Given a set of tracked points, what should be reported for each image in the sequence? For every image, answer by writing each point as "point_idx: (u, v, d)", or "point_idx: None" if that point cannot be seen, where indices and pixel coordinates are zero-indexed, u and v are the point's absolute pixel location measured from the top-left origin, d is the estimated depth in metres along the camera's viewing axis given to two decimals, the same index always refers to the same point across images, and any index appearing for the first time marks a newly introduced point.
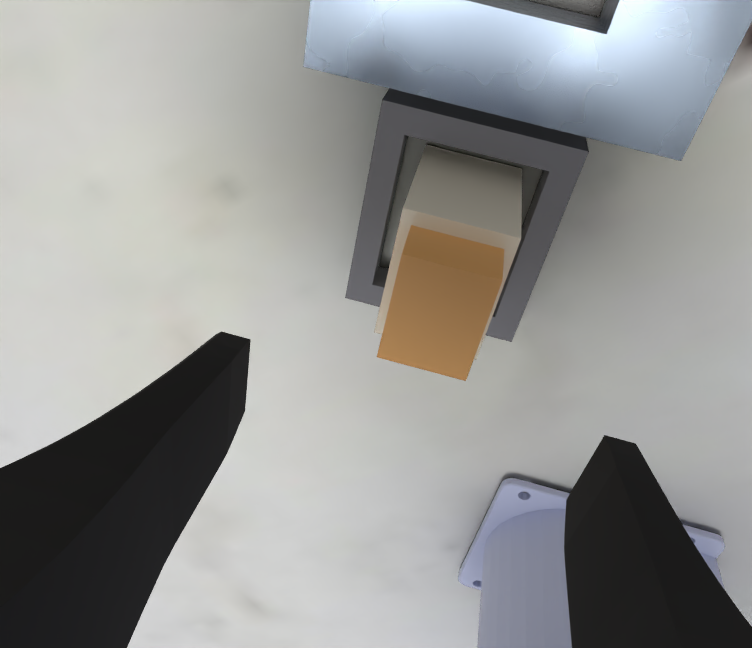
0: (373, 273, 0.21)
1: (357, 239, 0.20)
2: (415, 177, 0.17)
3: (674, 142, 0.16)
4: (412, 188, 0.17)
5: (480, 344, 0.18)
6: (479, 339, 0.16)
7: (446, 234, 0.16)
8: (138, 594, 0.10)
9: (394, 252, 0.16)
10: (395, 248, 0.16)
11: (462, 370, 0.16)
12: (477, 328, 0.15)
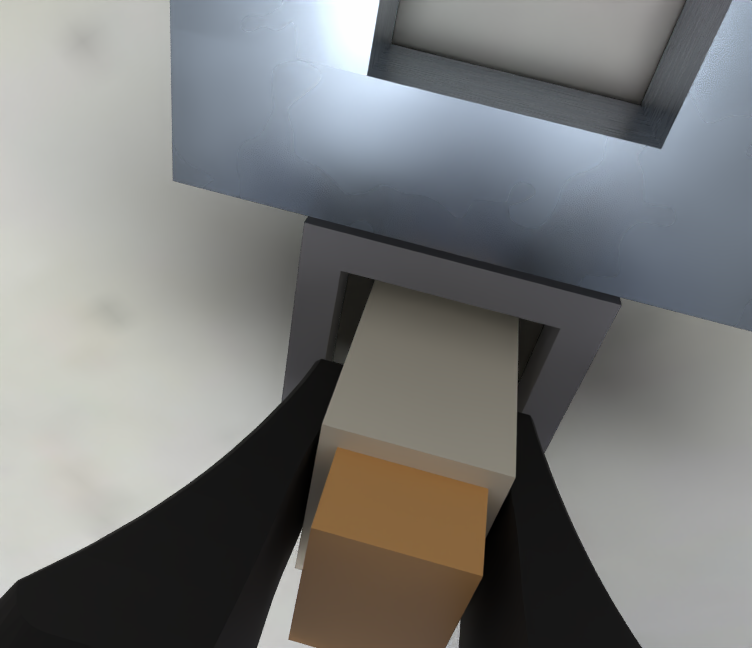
0: None
1: (283, 398, 0.14)
2: (352, 346, 0.11)
3: None
4: (344, 373, 0.11)
5: None
6: (447, 638, 0.10)
7: (393, 463, 0.10)
8: (258, 629, 0.10)
9: (314, 479, 0.10)
10: (315, 473, 0.10)
11: None
12: (443, 626, 0.09)
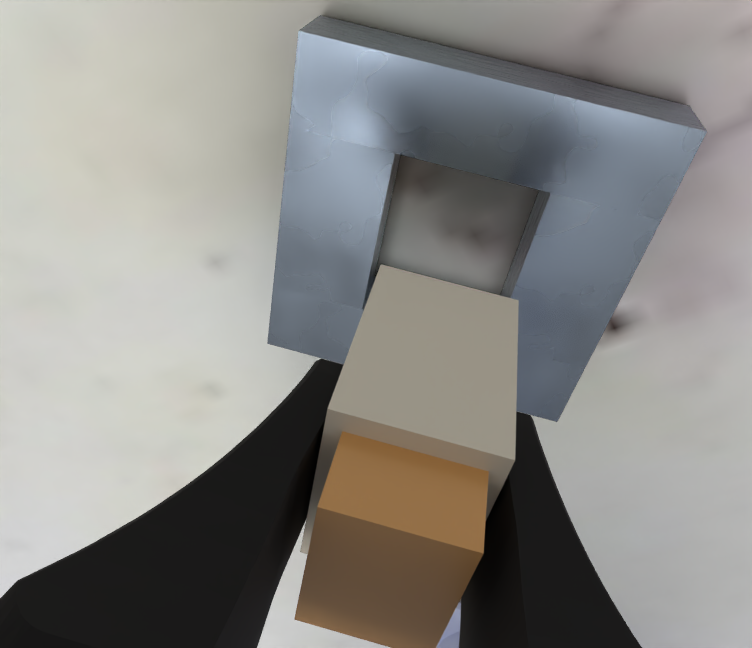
0: None
1: None
2: (356, 335, 0.11)
3: (550, 410, 0.21)
4: (349, 360, 0.11)
5: None
6: (449, 616, 0.10)
7: (396, 447, 0.10)
8: (258, 629, 0.10)
9: (320, 463, 0.11)
10: (321, 458, 0.11)
11: (424, 647, 0.11)
12: (445, 604, 0.10)
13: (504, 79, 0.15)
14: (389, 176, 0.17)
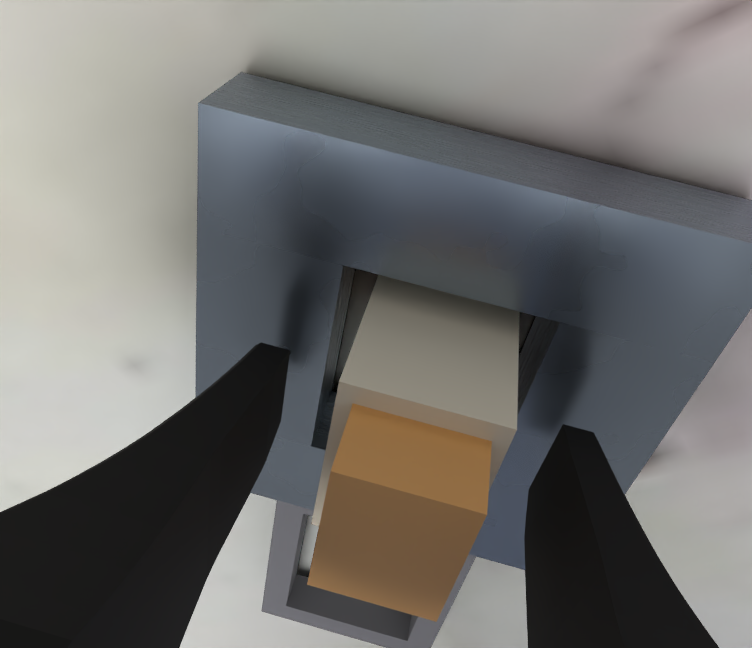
0: (286, 598, 0.21)
1: (267, 575, 0.20)
2: (365, 315, 0.12)
3: None
4: (358, 338, 0.11)
5: None
6: (454, 578, 0.10)
7: (404, 418, 0.11)
8: (186, 608, 0.10)
9: (331, 435, 0.11)
10: (332, 430, 0.11)
11: (431, 610, 0.11)
12: (450, 566, 0.10)
13: (493, 173, 0.11)
14: (337, 293, 0.12)
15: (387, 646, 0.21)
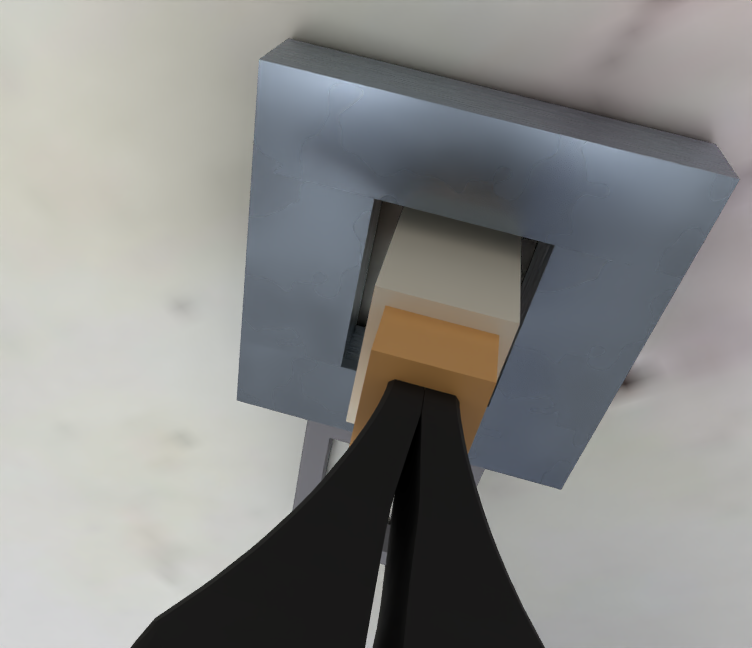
0: None
1: (295, 500, 0.23)
2: (393, 240, 0.14)
3: (553, 477, 0.18)
4: (388, 256, 0.14)
5: None
6: (469, 446, 0.13)
7: (427, 317, 0.13)
8: None
9: (366, 335, 0.14)
10: (367, 331, 0.13)
11: None
12: (466, 434, 0.13)
13: (500, 116, 0.13)
14: (368, 223, 0.15)
15: None
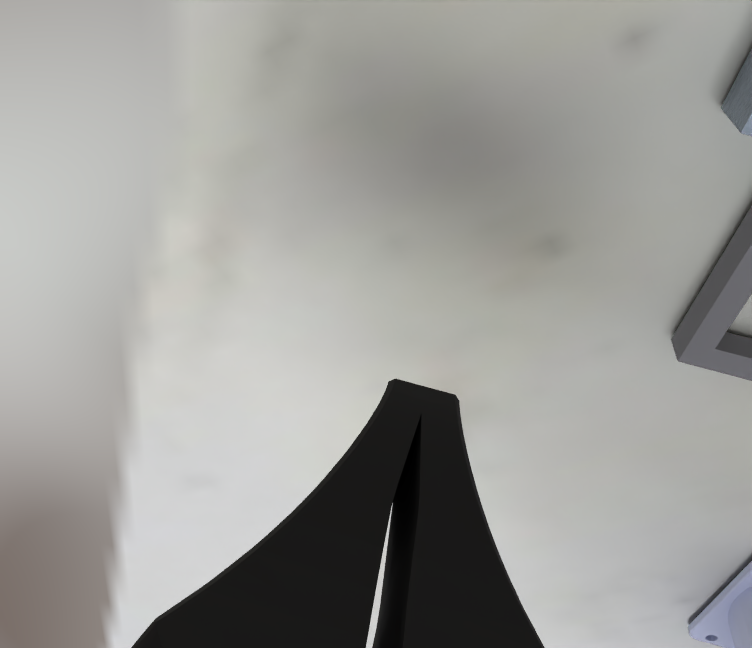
0: (721, 337, 0.20)
1: (715, 304, 0.19)
2: None
3: None
4: None
5: None
6: None
7: None
8: None
9: None
10: None
11: None
12: None
13: None
14: None
15: None
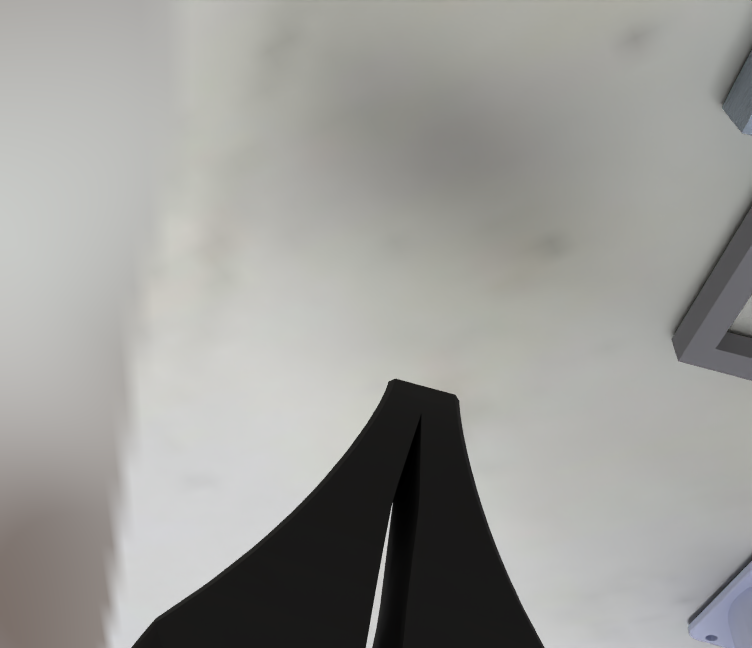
0: (721, 337, 0.20)
1: (716, 303, 0.19)
2: None
3: None
4: None
5: None
6: None
7: None
8: None
9: None
10: None
11: None
12: None
13: None
14: None
15: None
